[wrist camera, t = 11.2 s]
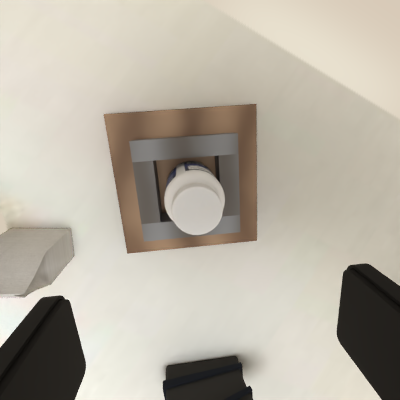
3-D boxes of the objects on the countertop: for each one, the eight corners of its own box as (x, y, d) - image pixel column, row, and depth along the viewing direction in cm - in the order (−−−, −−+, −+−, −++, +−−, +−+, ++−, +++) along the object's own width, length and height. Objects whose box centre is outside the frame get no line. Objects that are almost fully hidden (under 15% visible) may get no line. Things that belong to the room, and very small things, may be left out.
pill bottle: (182, 214, 29) (183, 255, 20) (158, 175, 28) (147, 199, 18) (222, 192, 29) (243, 223, 20) (200, 151, 27) (211, 163, 18)
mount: (253, 105, 28) (265, 101, 24) (254, 236, 32) (264, 251, 28) (106, 114, 27) (94, 112, 23) (129, 248, 31) (122, 266, 27)
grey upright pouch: (11, 227, 29) (-70, 276, 20) (71, 228, 30) (20, 275, 20) (16, 255, 30) (-58, 315, 21) (74, 255, 31) (27, 313, 21)
